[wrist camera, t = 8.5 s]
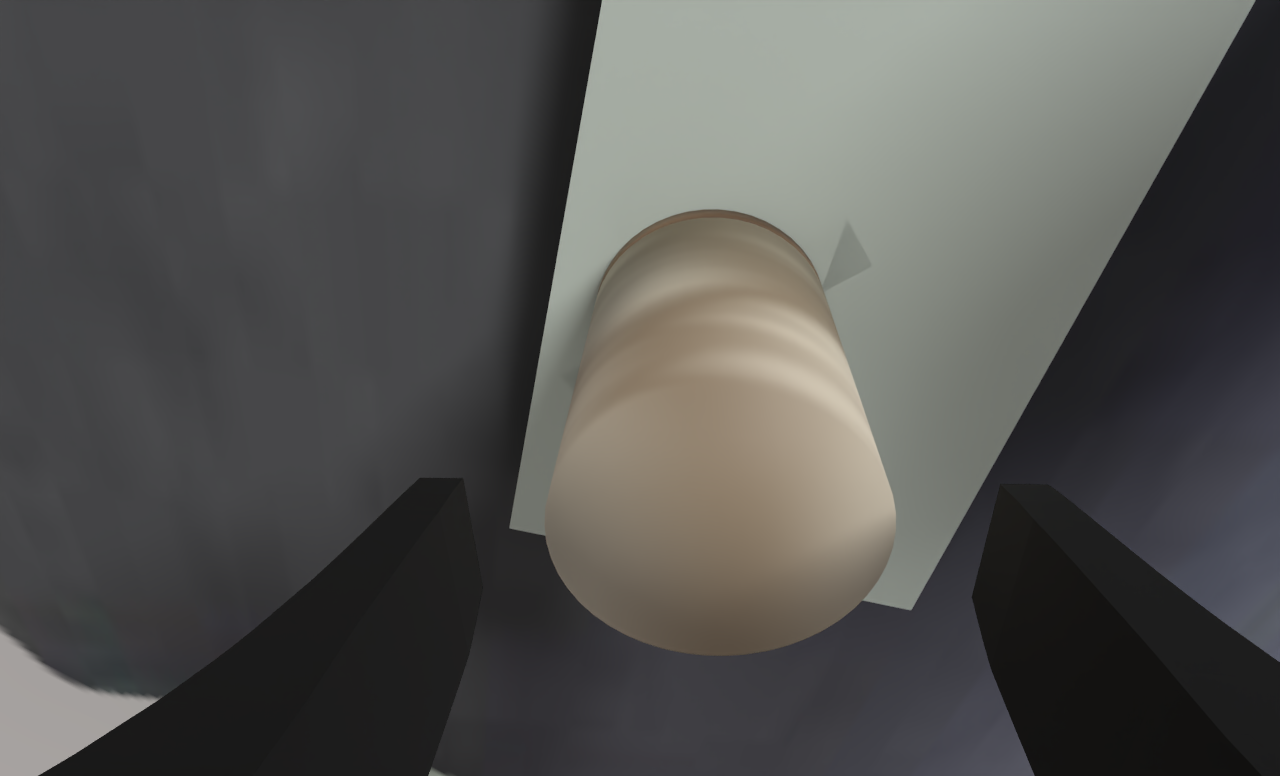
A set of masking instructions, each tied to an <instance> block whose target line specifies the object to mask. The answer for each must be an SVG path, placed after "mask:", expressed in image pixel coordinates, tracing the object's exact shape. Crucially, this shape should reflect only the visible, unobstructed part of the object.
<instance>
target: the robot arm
mask: <svg viewBox="0 0 1280 776" xmlns="http://www.w3.org/2000/svg"><path fill="white" fill-rule="evenodd" d="M482 589H483V586H482V580H481V575H480V569H479V564H478V558H477V553H476V547H475V542H474V536H473V531H472V525H471V520H470V514H469V509H468V503H467V498H466V492H465V486H464V481H463V478H419V479H418V480H417V481H416V482H415V483H414V484H413V485H412V486H411V487H410V488H409V489H408V490H406V491H405V492H404V493H403V494H402V495H401V496H400V497H399V498H398V499H397V500H396V501H395V502H394V503H393V504H392V505H391V506H390V507H389V508H388V509H387V510H386V511H385V512H384V513H382V514H381V515H380V516H379V517H378V518H377V519H376V520H375V521H374V522H373V523H372V524H371V525H370V526H369V527H368V528H367V529H366V530H365V531H364V532H363V533H362V534H361V535H360V536H359V537H358V538H357V539H356V540H354V541H353V542H352V543H351V544H350V545H349V546H348V547H347V548H346V549H345V550H344V551H343V552H342V553H341V554H340V555H338V556H337V557H336V558H335V559H334V560H333V561H332V562H331V563H330V564H329V565H328V566H327V567H326V568H324V569H323V570H322V571H321V572H320V573H319V574H318V575H317V576H316V577H315V578H314V579H313V580H311V581H310V582H309V583H308V584H307V585H306V586H304V587H303V588H302V589H301V590H300V591H299V592H297V593H296V594H295V595H294V596H293V597H292V598H290V599H289V600H288V601H287V602H286V603H285V604H283V605H282V606H281V607H280V608H279V609H277V610H276V611H275V612H274V613H273V614H272V615H270V616H269V617H268V618H267V619H266V620H265V621H263V622H262V623H261V624H260V625H259V626H258V627H256V628H255V629H254V630H253V631H251V632H250V633H249V634H248V635H246V636H245V637H244V638H243V639H241V640H240V641H239V642H238V643H236V644H235V645H234V646H232V647H231V648H230V649H229V650H227V651H226V652H225V653H223V654H222V655H221V656H219V657H218V658H217V659H215V660H214V661H213V662H211V663H210V664H209V665H207V666H206V667H204V668H203V669H202V670H200V671H199V672H198V673H196V674H195V675H193V676H192V677H191V678H189V679H188V680H187V681H185V682H184V683H182V684H181V685H180V686H178V687H177V688H175V689H174V690H173V691H171V692H170V693H168V694H167V695H165V696H164V697H162V698H161V699H160V700H158V701H157V702H155V703H153V704H152V705H150V706H149V707H147V708H146V709H144V710H143V711H141V712H140V713H138V714H136V715H135V716H133V717H132V718H130V719H129V720H127V721H126V722H124V723H122V724H121V725H119V726H118V727H116V728H115V729H113V730H112V731H110V732H109V733H107V734H106V735H104V736H102V737H101V738H99V739H98V740H96V741H94V742H93V743H91V744H90V745H88V746H87V747H85V748H84V749H82V750H81V751H79V752H77V753H76V754H74V755H72V756H71V757H69V758H68V759H66V760H65V761H63V762H61V763H59V764H57V765H56V766H54V767H52V768H51V769H49V770H47V771H46V772H44V773H42V774H41V775H39V776H428V775H429V772H430V769H431V766H432V763H433V760H434V757H435V754H436V751H437V748H438V745H439V743H440V740H441V737H442V734H443V731H444V728H445V725H446V722H447V719H448V716H449V713H450V710H451V707H452V705H453V702H454V699H455V696H456V693H457V690H458V687H459V684H460V681H461V678H462V675H463V672H464V669H465V665H466V662H467V659H468V656H469V652H470V648H471V643H472V639H473V634H474V629H475V625H476V620H477V615H478V609H479V604H480V599H481V594H482ZM972 599H973V603H974V607H975V611H976V615H977V619H978V623H979V627H980V631H981V635H982V639H983V642H984V646H985V649H986V653H987V656H988V660H989V663H990V667H991V670H992V672H993V675H994V677H995V680H996V683H997V685H998V688H999V690H1000V692H1001V695H1002V697H1003V700H1004V702H1005V705H1006V707H1007V710H1008V712H1009V715H1010V717H1011V720H1012V722H1013V724H1014V727H1015V729H1016V732H1017V734H1018V737H1019V739H1020V741H1021V744H1022V746H1023V749H1024V751H1025V753H1026V756H1027V758H1028V761H1029V763H1030V765H1031V768H1032V770H1033V773H1034V775H1035V776H1280V662H1278V661H1277V660H1276V659H1274V658H1273V657H1271V656H1270V655H1269V654H1267V653H1266V652H1264V651H1263V650H1261V649H1260V648H1259V647H1257V646H1256V645H1254V644H1253V643H1252V642H1250V641H1249V640H1247V639H1246V638H1245V637H1243V636H1242V635H1240V634H1239V633H1238V632H1236V631H1235V630H1233V629H1232V628H1231V627H1229V626H1228V625H1226V624H1225V623H1224V622H1222V621H1221V620H1220V619H1218V618H1217V617H1216V616H1214V615H1213V614H1212V613H1210V612H1209V611H1208V610H1206V609H1205V608H1204V607H1202V606H1201V605H1200V604H1198V603H1197V602H1196V601H1195V600H1193V599H1192V598H1191V597H1189V596H1188V595H1187V594H1185V593H1184V592H1183V591H1182V590H1180V589H1179V588H1178V587H1176V586H1175V585H1174V584H1173V583H1171V582H1170V581H1169V580H1167V579H1166V578H1165V577H1164V576H1162V575H1161V574H1160V573H1159V572H1157V571H1156V570H1155V569H1154V568H1152V567H1151V566H1150V565H1149V564H1147V563H1146V562H1145V561H1144V560H1142V559H1141V558H1140V557H1139V556H1137V555H1136V554H1135V553H1134V552H1132V551H1131V550H1130V549H1129V548H1127V547H1126V546H1125V545H1124V544H1122V543H1121V542H1120V541H1119V540H1118V539H1116V538H1115V537H1114V536H1113V535H1111V534H1110V533H1109V532H1108V531H1106V530H1105V529H1104V528H1103V527H1102V526H1100V525H1099V524H1098V523H1097V522H1095V521H1094V520H1093V519H1092V518H1090V517H1089V516H1088V515H1087V514H1086V513H1084V512H1083V511H1082V510H1081V509H1079V508H1078V507H1077V506H1076V505H1074V504H1073V503H1072V502H1071V501H1069V500H1068V499H1067V498H1065V497H1064V496H1063V495H1062V494H1060V493H1059V492H1058V491H1056V490H1055V489H1054V488H1052V487H1051V486H1049V485H1035V484H1000V488H999V492H998V496H997V500H996V504H995V508H994V512H993V516H992V520H991V523H990V527H989V531H988V535H987V539H986V543H985V547H984V551H983V555H982V559H981V563H980V567H979V571H978V575H977V579H976V583H975V587H974V591H973V595H972Z"/></svg>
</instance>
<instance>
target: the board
mask: <svg viewBox="0 0 1280 776" xmlns="http://www.w3.org/2000/svg"><path fill="white" fill-rule="evenodd" d="M1255 1H1256V0H602V4H601V10H600V16H599V21H598V27H597V33H596V38H595V44H594V50H593V55H592V61H591V67H590V72H589V78H588V84H587V89H586V95H585V101H584V106H583V112H582V118H581V124H580V129H579V135H578V141H577V146H576V152H575V158H574V163H573V169H572V175H571V180H570V186H569V192H568V197H567V203H566V209H565V214H564V220H563V226H562V231H561V237H560V243H559V248H558V254H557V260H556V266H555V271H554V277H553V283H552V288H551V294H550V300H549V305H548V311H547V317H546V322H545V328H544V334H543V339H542V345H541V351H540V356H539V362H538V368H537V373H536V379H535V385H534V391H533V396H532V402H531V408H530V413H529V419H528V425H527V430H526V436H525V442H524V447H523V453H522V459H521V464H520V470H519V476H518V481H517V487H516V493H515V498H514V504H513V510H512V515H511V521H510V527H509V528H510V529H515V530H520V531H525V532H530V533H535V534H539V535H544V536H546V535H545V526H544V522H545V506H546V502H547V498H548V493H549V489H550V485H551V481H552V477H553V473H554V469H555V465H556V461H557V457H558V452H559V448H560V444H561V440H562V436H563V432H564V428H565V424H566V420H567V416H568V412H569V408H570V404H571V400H572V395H573V391H574V387H575V383H576V379H577V375H578V371H579V367H580V363H581V359H582V355H583V351H584V347H585V343H586V338H587V334H588V330H589V326H590V322H591V318H592V314H593V310H594V306H595V302H596V298H597V294H598V290H599V286H600V283H601V281H602V278H603V276H604V273H605V271H606V270H607V268H608V266H609V264H610V263H611V261H612V260H613V258H614V257H615V256H616V254H617V253H618V252H619V250H620V249H621V248H622V247H623V246H624V245H625V244H626V243H627V242H628V241H629V240H630V239H631V238H633V237H634V236H635V235H637V234H638V233H639V232H641V231H642V230H643V229H645V228H647V227H649V226H650V225H652V224H654V223H656V222H658V221H660V220H662V219H665V218H667V217H670V216H673V215H676V214H680V213H684V212H688V211H696V210H703V209H720V210H729V211H736V212H740V213H744V214H748V215H752V216H754V217H757V218H759V219H762V220H764V221H766V222H768V223H770V224H772V225H773V226H775V227H777V228H779V229H780V230H781V231H783V232H784V233H785V234H787V235H788V236H789V237H791V238H792V239H793V240H794V241H795V242H796V243H797V244H798V245H799V246H800V247H801V248H802V249H803V251H804V252H805V254H806V255H807V256H808V258H809V259H810V260H811V262H812V264H813V266H814V268H815V270H816V272H817V273H818V276H819V279H820V282H821V285H822V288H823V291H824V294H825V296H826V299H827V302H828V305H829V308H830V311H831V314H832V317H833V320H834V323H835V326H836V329H837V332H838V335H839V338H840V341H841V344H842V346H843V349H844V352H845V355H846V358H847V361H848V364H849V367H850V370H851V373H852V376H853V379H854V382H855V385H856V388H857V391H858V394H859V397H860V399H861V402H862V405H863V408H864V411H865V414H866V417H867V420H868V423H869V426H870V429H871V432H872V435H873V438H874V441H875V444H876V447H877V450H878V452H879V455H880V458H881V461H882V464H883V467H884V470H885V473H886V476H887V479H888V482H889V485H890V488H891V491H892V494H893V498H894V504H895V510H896V533H895V539H894V544H893V549H892V552H891V555H890V557H889V560H888V563H887V566H886V567H885V569H884V571H883V573H882V575H881V576H880V578H879V580H878V582H877V583H876V584H875V586H874V587H873V588H872V590H871V591H870V592H869V594H868V595H867V596H866V597H865V598H864V599H863V601H868V602H873V603H878V604H882V605H887V606H892V607H897V608H902V609H907V610H912V608H913V606H914V604H915V603H916V601H917V599H918V597H919V596H920V594H921V592H922V590H923V588H924V587H925V585H926V583H927V581H928V580H929V578H930V576H931V574H932V573H933V571H934V569H935V567H936V565H937V564H938V562H939V560H940V558H941V557H942V555H943V553H944V551H945V550H946V548H947V546H948V544H949V542H950V541H951V539H952V537H953V535H954V534H955V532H956V530H957V528H958V527H959V525H960V523H961V521H962V519H963V518H964V516H965V514H966V512H967V511H968V509H969V507H970V505H971V503H972V502H973V500H974V498H975V496H976V495H977V493H978V491H979V489H980V488H981V486H982V484H983V482H984V480H985V479H986V477H987V475H988V473H989V472H990V470H991V468H992V466H993V465H994V463H995V461H996V459H997V457H998V456H999V454H1000V452H1001V450H1002V449H1003V447H1004V445H1005V443H1006V442H1007V440H1008V438H1009V436H1010V434H1011V433H1012V431H1013V429H1014V427H1015V426H1016V424H1017V422H1018V420H1019V419H1020V417H1021V415H1022V413H1023V411H1024V410H1025V408H1026V406H1027V404H1028V403H1029V401H1030V399H1031V397H1032V395H1033V394H1034V392H1035V390H1036V388H1037V387H1038V385H1039V383H1040V381H1041V380H1042V378H1043V376H1044V374H1045V372H1046V371H1047V369H1048V367H1049V365H1050V364H1051V362H1052V360H1053V358H1054V357H1055V355H1056V353H1057V351H1058V349H1059V348H1060V346H1061V344H1062V342H1063V341H1064V339H1065V337H1066V335H1067V334H1068V332H1069V330H1070V328H1071V326H1072V325H1073V323H1074V321H1075V319H1076V318H1077V316H1078V314H1079V312H1080V311H1081V309H1082V307H1083V305H1084V303H1085V302H1086V300H1087V298H1088V296H1089V295H1090V293H1091V291H1092V289H1093V287H1094V286H1095V284H1096V282H1097V280H1098V279H1099V277H1100V275H1101V273H1102V272H1103V270H1104V268H1105V266H1106V264H1107V263H1108V261H1109V259H1110V257H1111V256H1112V254H1113V252H1114V250H1115V249H1116V247H1117V245H1118V243H1119V241H1120V240H1121V238H1122V236H1123V234H1124V233H1125V231H1126V229H1127V227H1128V226H1129V224H1130V222H1131V220H1132V218H1133V217H1134V215H1135V213H1136V211H1137V210H1138V208H1139V206H1140V204H1141V203H1142V201H1143V199H1144V197H1145V195H1146V194H1147V192H1148V190H1149V188H1150V187H1151V185H1152V183H1153V181H1154V179H1155V178H1156V176H1157V174H1158V172H1159V171H1160V169H1161V167H1162V165H1163V164H1164V162H1165V160H1166V158H1167V156H1168V155H1169V153H1170V151H1171V149H1172V148H1173V146H1174V144H1175V142H1176V141H1177V139H1178V137H1179V135H1180V133H1181V132H1182V130H1183V128H1184V126H1185V125H1186V123H1187V121H1188V119H1189V118H1190V116H1191V114H1192V112H1193V110H1194V109H1195V107H1196V105H1197V103H1198V102H1199V100H1200V98H1201V96H1202V94H1203V93H1204V91H1205V89H1206V87H1207V86H1208V84H1209V82H1210V80H1211V79H1212V77H1213V75H1214V73H1215V71H1216V70H1217V68H1218V66H1219V64H1220V63H1221V61H1222V59H1223V57H1224V56H1225V54H1226V52H1227V50H1228V48H1229V47H1230V45H1231V43H1232V41H1233V40H1234V38H1235V36H1236V34H1237V33H1238V31H1239V29H1240V27H1241V25H1242V24H1243V22H1244V20H1245V18H1246V17H1247V15H1248V13H1249V11H1250V10H1251V8H1252V6H1253V4H1254V2H1255Z"/></svg>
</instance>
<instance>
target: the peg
mask: <svg viewBox="0 0 1280 776" xmlns="http://www.w3.org/2000/svg"><path fill="white" fill-rule="evenodd" d="M544 526H545V535H546V543H547V546H548V550H549V553H550V557H551V560H552V562H553V564H554V566H555V568H556V570H557V573H558V575H559V576H560V578H561V579H562V581H563V582H564V584H565V585H566V587H567V588H568V590H569V591H570V592H571V593H572V594H573V595H574V597H575V598H576V599H577V600H578V601H579V602H580V603H581V604H582V605H583V606H584V607H585V608H586V609H588V610H589V611H590V612H591V613H592V614H593V615H594V616H596V617H597V618H599V619H600V620H602V621H603V622H604V623H606V624H607V625H609V626H610V627H612V628H614V629H616V630H618V631H620V632H621V633H623V634H625V635H627V636H629V637H632V638H634V639H637V640H639V641H641V642H644V643H647V644H650V645H653V646H656V647H659V648H663V649H667V650H672V651H677V652H681V653H688V654H697V655H712V656H729V655H745V654H751V653H758V652H764V651H769V650H773V649H777V648H781V647H785V646H787V645H790V644H793V643H796V642H799V641H802V640H804V639H806V638H808V637H811V636H813V635H815V634H817V633H819V632H821V631H823V630H825V629H826V628H828V627H829V626H831V625H833V624H834V623H836V622H838V621H839V620H840V619H842V618H843V617H844V616H845V615H847V614H848V613H849V612H851V611H852V610H853V609H854V608H855V607H856V606H857V605H858V604H859V603H860V602H861V601H862V600H863V599H864V598H865V597H866V596H867V595H868V594H869V592H870V591H871V590H872V588H873V587H874V586H875V584H876V583H877V582H878V580H879V578H880V576H881V575H882V573H883V571H884V569H885V567H886V566H887V563H888V560H889V557H890V555H891V552H892V549H893V544H894V539H895V533H896V510H895V504H894V498H893V494H892V491H891V488H890V485H889V482H888V479H887V476H886V473H885V470H884V467H883V464H882V461H881V458H880V455H879V452H878V450H877V447H876V444H875V441H874V438H873V435H872V432H871V429H870V426H869V423H868V420H867V417H866V414H865V411H864V408H863V405H862V402H861V399H860V397H859V394H858V391H857V388H856V385H855V382H854V379H853V376H852V373H851V370H850V367H849V364H848V361H847V358H846V355H845V352H844V349H843V346H842V344H841V341H840V338H839V335H838V332H837V329H836V326H835V323H834V320H833V317H832V314H831V311H830V308H829V305H828V302H827V299H826V296H825V294H824V291H823V288H822V285H821V282H820V279H819V276H818V273H817V272H816V270H815V268H814V266H813V264H812V262H811V260H810V259H809V258H808V256H807V255H806V254H805V252H804V251H803V249H802V248H801V247H800V246H799V245H798V244H797V243H796V242H795V241H794V240H793V239H792V238H791V237H789V236H788V235H787V234H785V233H784V232H783V231H781V230H780V229H779V228H777V227H775V226H773V225H772V224H770V223H768V222H766V221H764V220H762V219H759V218H757V217H754V216H752V215H748V214H744V213H740V212H736V211H729V210H720V209H703V210H696V211H688V212H684V213H680V214H676V215H673V216H670V217H667V218H665V219H662V220H660V221H658V222H656V223H654V224H652V225H650V226H649V227H647V228H645V229H643V230H642V231H641V232H639V233H638V234H637V235H635V236H634V237H633V238H631V239H630V240H629V241H628V242H627V243H626V244H625V245H624V246H623V247H622V248H621V249H620V250H619V252H618V253H617V254H616V256H615V257H614V258H613V260H612V261H611V263H610V264H609V266H608V268H607V270H606V271H605V273H604V276H603V278H602V281H601V283H600V286H599V290H598V294H597V298H596V302H595V306H594V310H593V314H592V318H591V322H590V326H589V330H588V334H587V338H586V343H585V347H584V351H583V355H582V359H581V363H580V367H579V371H578V375H577V379H576V383H575V387H574V391H573V395H572V400H571V404H570V408H569V412H568V416H567V420H566V424H565V428H564V432H563V436H562V440H561V444H560V448H559V452H558V457H557V461H556V465H555V469H554V473H553V477H552V481H551V485H550V489H549V493H548V498H547V502H546V506H545V522H544Z"/></svg>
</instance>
